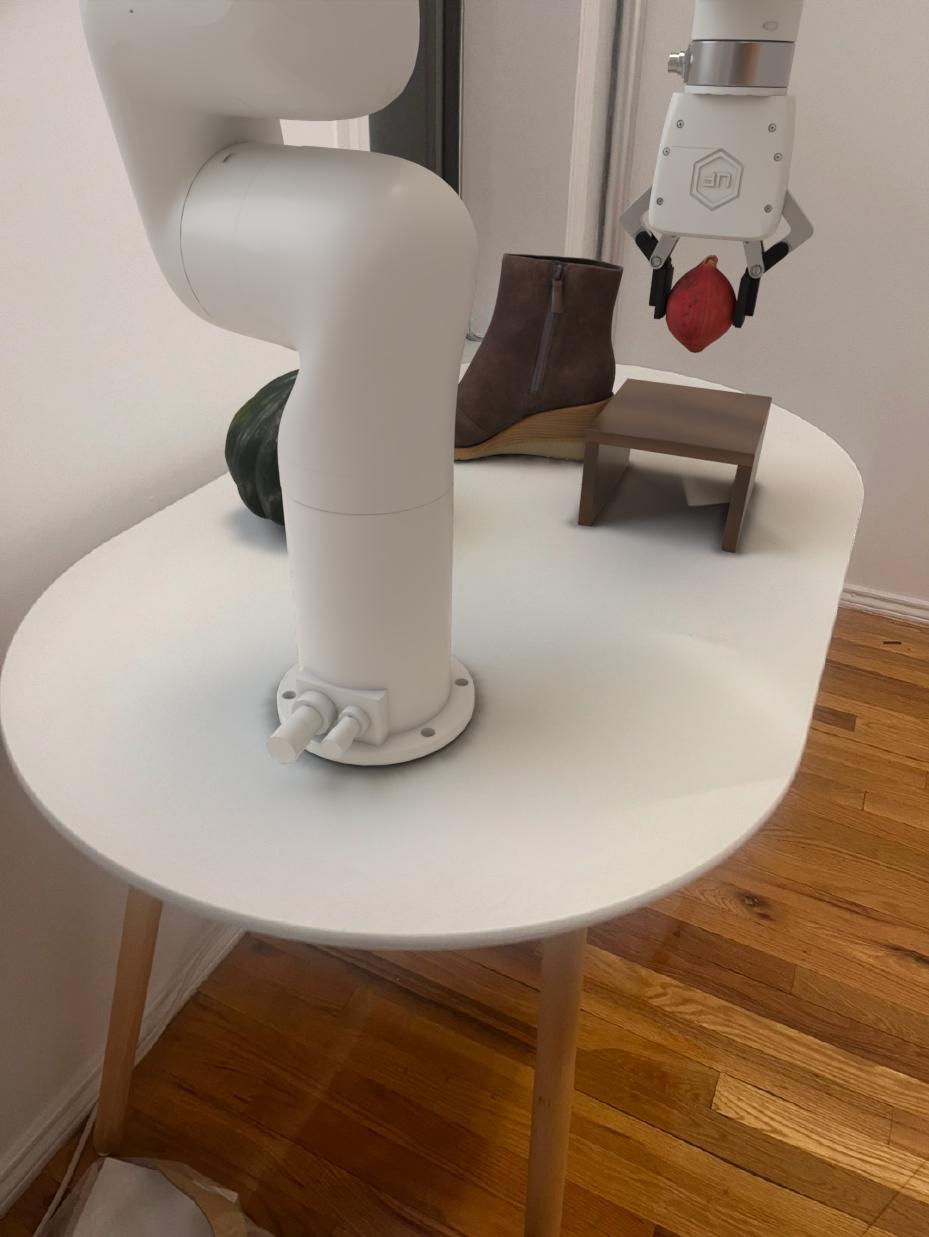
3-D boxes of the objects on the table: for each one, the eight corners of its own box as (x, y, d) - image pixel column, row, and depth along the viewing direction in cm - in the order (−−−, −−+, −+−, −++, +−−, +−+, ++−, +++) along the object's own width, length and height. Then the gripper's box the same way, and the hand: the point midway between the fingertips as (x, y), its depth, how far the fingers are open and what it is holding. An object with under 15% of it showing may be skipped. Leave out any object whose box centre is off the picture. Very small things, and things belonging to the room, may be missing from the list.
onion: (678, 364, 74) (693, 262, 70) (648, 346, 78) (661, 249, 74) (740, 360, 75) (759, 260, 71) (707, 342, 80) (722, 248, 76)
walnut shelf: (734, 552, 76) (755, 454, 71) (577, 523, 80) (586, 428, 75) (754, 484, 89) (772, 396, 84) (617, 462, 93) (627, 378, 88)
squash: (299, 413, 87) (232, 320, 73) (438, 442, 83) (395, 349, 69) (246, 542, 84) (166, 471, 70) (389, 578, 80) (333, 510, 66)
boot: (391, 430, 100) (386, 239, 89) (605, 441, 98) (627, 248, 87) (377, 459, 92) (369, 255, 82) (608, 472, 91) (632, 265, 80)
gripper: (613, 69, 65) (589, 319, 75) (860, 75, 60) (801, 342, 70) (634, 70, 71) (610, 301, 81) (861, 75, 66) (807, 321, 76)
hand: (699, 318), depth 75 cm, fingers closed on onion, 6 cm apart
